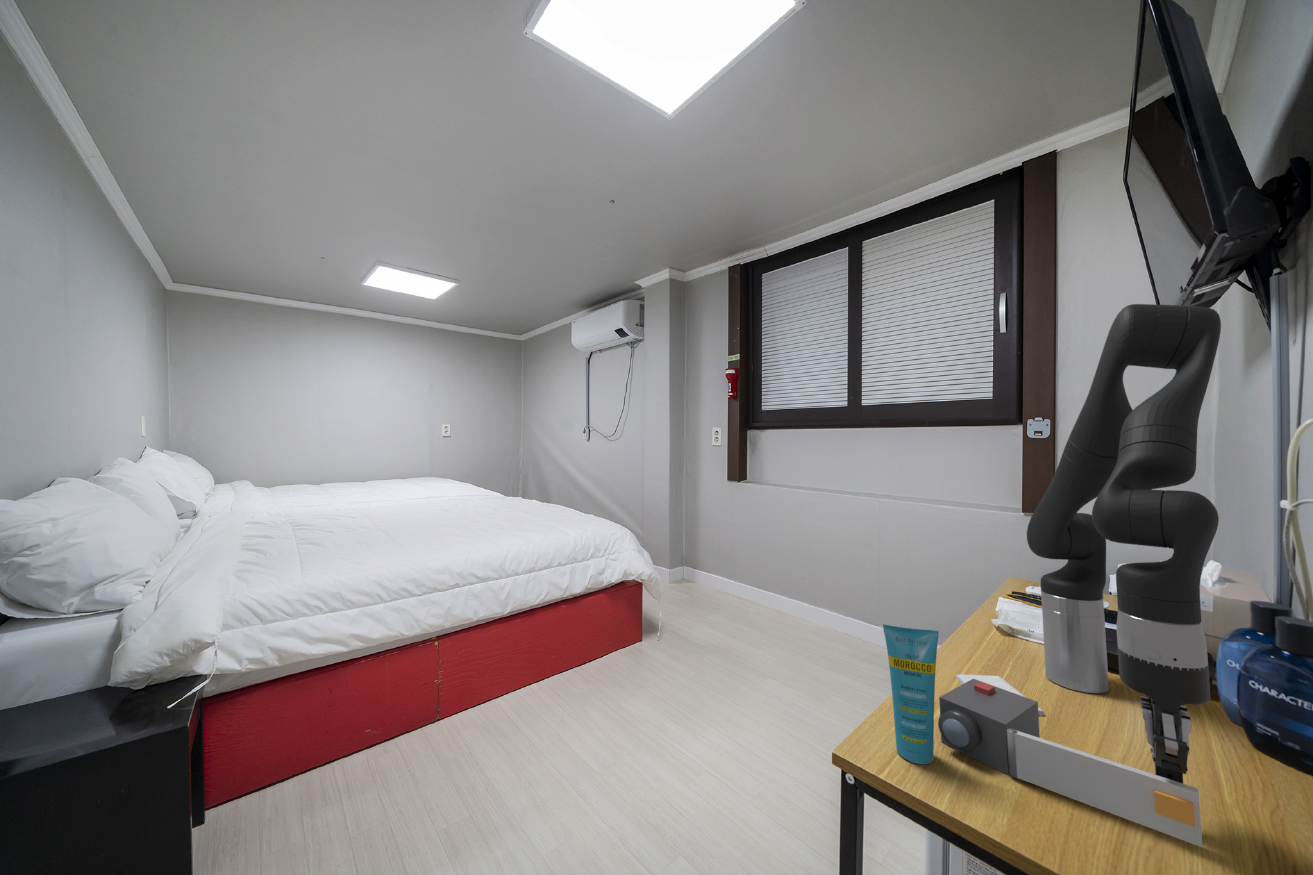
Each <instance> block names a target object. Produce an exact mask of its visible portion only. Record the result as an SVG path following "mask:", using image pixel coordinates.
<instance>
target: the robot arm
mask: <svg viewBox="0 0 1313 875" xmlns="http://www.w3.org/2000/svg"><path fill="white" fill-rule="evenodd" d="M1221 321H1222V320H1221V317H1220V314H1219V313H1218V311H1217V310H1215V309H1214V308H1211V307H1205V306H1197V305H1195V306H1193V305H1178V304H1177V305H1176V304H1175V305H1174V304H1173V305H1172V304H1147V303H1144V304H1143V303H1135V304H1134V303H1132V304H1129V305H1126V306H1124V307H1123V308H1122V309H1121V310H1120V311H1119V312H1118V314H1117V315H1116V316H1115V318H1114V320H1113V322H1112V324H1111V326H1110V329H1109V330H1108V333H1107V334H1108V335H1107V336H1106V339H1105V342H1104V345H1103V347H1102V351H1101V355H1100V358H1099V361H1098V364H1097V367H1096V370H1095V373H1094V376H1093V379H1092V382H1091V385H1090V388H1089V391H1088V394H1087V397H1086V398H1085V400H1084V403H1083V406H1082V408H1081V410H1080V412H1079V414H1078V417H1077V418H1076V421H1075V423H1074V425H1073V428H1072V429H1071V432H1070V434H1069V437H1068V439H1067V441H1066V443H1065V446H1064V448H1063V452H1062V454H1061V458H1060V459H1059V463H1058V465H1057V468H1056V470H1055V472H1054V474H1053V477H1052V478H1051V481H1050V483H1049V485H1048V487H1047V489H1046V491H1045V493H1044V494H1043V496H1042V498H1041V500H1040V501H1039V503H1038V505H1037V506H1036V508H1035V510H1034V512H1033V513H1032V514H1031V517H1030V518H1029V522H1028V524H1027V530H1026V541H1027V545H1028V547H1029V549H1030V551H1031V552H1032V553H1033V554H1034V555H1036V556H1037V557H1040V558H1045V559H1050V560H1064V561H1065V560H1067V562H1066V563H1065V565H1063V566H1062V567H1061V568H1059V569H1057V570H1055V571H1052V572H1048V573H1045V574H1044V575H1042V576H1041V578H1040V594H1041V595H1040V597H1041V598H1040V599H1041V612H1042V616H1041V617H1042V630H1043V633H1042V634H1043V650H1044V652H1043V653H1044V667H1045V668H1044V669H1045V677H1046V678H1047V679H1048V680H1049V681H1050V682H1053V683H1054V684H1057V685H1059V686H1061V687H1064V688H1066V689H1070V690H1073V691H1077V692H1082V693H1088V694H1104V693H1107V692H1108V691H1109V688H1110V687H1109V672H1108V655H1107V654H1108V652H1107V637H1106V623H1105V622H1106V621H1105V620H1106V619H1105V618H1106V617H1105V608H1104V606H1105V605H1104V590H1105V586H1106V583H1107V540H1108V541H1109V542H1113V543H1118V544H1125V545H1138V546H1144V547H1145V546H1146V547H1155V548H1165V549H1170V550H1173V553H1172V556H1171V557H1170V558H1169V559H1166V560H1163V561H1155V562H1153V561H1152V562H1146V561H1145V562H1130V563H1129V562H1128V563H1124V564H1121V565H1120V566H1118V567H1117V569H1116V572H1115V583H1116V598H1117V599H1116V600H1117V601H1116V602H1117V617H1116V618H1117V619H1116V640H1117V656H1118V659H1117V660H1118V674H1119V675H1118V676H1119V679H1120V680H1121V682H1122V683H1123V684H1124V685H1126V686H1127V687H1128V688H1129V689H1132V690H1133V691H1135V692H1137V693H1140V694H1142V695H1143V694H1144V695H1145V696H1142V695H1140V696H1139V699H1140V700H1139V701H1140V709H1141V713H1142V714H1141V715H1142V719H1143V721H1144V730H1145V734H1146V741H1147V744H1149V745H1150V746H1151V747H1150V753H1152V754H1151V759H1152V760H1153V762H1154V772H1155V774H1154V775H1158V776H1161V777H1164V778H1167V779H1170V780H1173V781H1176V782H1179V783H1183V784H1184V775H1187V772H1188V757H1189V755H1190V739H1189V738H1190V737H1189V736H1190V734H1191V733H1192V721H1191V720H1192V719H1191V716H1190V715H1189V714H1188V713H1189V712H1188V708H1187V706H1185V705H1191V706H1201V705H1205V704H1207V703H1209V702H1210V700H1211V686H1210V672H1209V662H1208V661H1209V659H1208V657H1209V656H1208V645H1207V638H1206V634H1205V632H1204V628H1203V622H1202V608H1201V607H1202V606H1201V577H1202V572H1203V568H1204V565H1205V561H1206V557H1207V555H1208V553H1209V551H1210V549H1211V546H1212V544H1213V541H1214V539H1215V536H1216V533H1217V530H1218V526H1219V522H1220V521H1219V520H1220V519H1219V518H1220V517H1219V513H1218V510H1217V507H1216V506H1215V505H1214V504H1213V503H1212V501H1210V499H1208V498H1207V497H1206V496H1204V495H1203V494H1201V493H1198V492H1197V491H1196V492H1195V491H1191V490H1190V491H1189V490H1174V489H1173V490H1171V489H1170V490H1169V489H1166V490H1165V489H1163V488H1170V487H1176V486H1180V485H1183V484H1186V483H1187V482H1189V481H1191V480H1192V479H1193V477H1194V475H1195V474H1196V470H1197V449H1198V446H1197V445H1198V427H1199V426H1198V425H1199V420H1200V419H1199V418H1200V413H1201V410H1202V406H1203V403H1204V400H1205V396H1206V393H1207V389H1208V386H1209V383H1210V378H1211V374H1212V371H1213V367H1214V362H1215V360H1216V359H1215V358H1216V356H1217V351H1218V347H1219V342H1220V338H1221V329H1222V322H1221ZM1129 366H1132V367H1133V366H1134V367H1144V368H1152V369H1163V370H1164V369H1165V370H1174V371H1175V374H1174V376H1173V377H1172V379H1171V380H1170V381H1169V382H1167V384H1166V385H1164V386H1163V387H1162V388H1160V389H1159V390H1158V391H1156V392H1155V393H1153V394H1152V395H1151V396H1149V397H1147V398H1146V399H1144V401H1142V402H1141V403H1139V404H1138V405H1137V406H1136V407H1134V408H1133V407H1132V406H1131V403H1130V401H1129V399H1128V395H1127V393H1126V392H1127V391H1126V389H1125V384H1124V373H1125V370H1126V369H1127V367H1129ZM1094 499H1095V501H1094V503H1093V507H1092V510H1091V514H1090V513H1085V512H1079V511H1080V510H1081V509H1082V508H1084V506H1086V505H1087V504H1089V503H1090V502H1091V501H1093V500H1094Z"/></svg>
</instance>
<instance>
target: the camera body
mask: <svg viewBox="0 0 1313 875" xmlns="http://www.w3.org/2000/svg"><path fill="white" fill-rule="evenodd" d="M938 700H939V718H938V721H937V726H938V730H939V733H940V737H941V738H940V739H941V743H942V744H944V745H947V746H948V747H949V748H952V749H954V750H956V751H958V752H961V753H963V754H964V755H967V756H969V757H971V758H972V759H975V760H977V761H979V762H980V763H983V764H985V765H986V766H989V767H991V768H993V769H995V770H996V771H999V772H1001V773H1003V774H1005V775H1007V776H1009V775H1010V774H1009V758H1008V739H1007V729H1008V728H1011V729H1014V730H1016V731H1020V732H1023V733H1026V734H1029V735H1032V736H1035V737H1038V738H1041V737H1040V736H1041V735H1040V734H1041V733H1040V721H1039V720H1040V718H1039V717H1040V716H1039V715H1038V707H1039V702H1038V701H1036V700H1034V699H1031V698H1029V697H1026V696H1025V697H1023V696H1020V695H1018V694H1015V693H1012V692H1009V691H1007V690H1004V689H1001V688H998V687H995V686H993V685H990V684H987V683H984V682H982V681H979V680H976V679H971V680H970V681H968V682H966V683H964V684H961V685H958V686H957V687H955V688H954V689H952V690H950V691H948V692H946V693H944V694H942V695H940V696H939V699H938Z"/></svg>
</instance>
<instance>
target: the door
mask: <svg viewBox="0 0 1313 875" xmlns="http://www.w3.org/2000/svg"><path fill="white" fill-rule="evenodd" d="M1007 739H1008V758H1009V775H1010V776H1011V777H1013V778H1016V779H1019V780H1022V781H1025V782H1027V783H1030V784H1034V785H1036V786H1039V787H1041V788H1044V789H1046V790H1048V791H1051V792H1055V793H1057V794H1059V795H1062V796H1065V797H1068V798H1070V799H1073V800H1076V801H1078V802H1081V803H1084V804H1086V805H1088V806H1091V807H1093V808H1096V809H1100V810H1102V811H1105V812H1107V813H1110V814H1112V815H1116V816H1118V817H1121V818H1123V819H1126V820H1129V821H1132V822H1134V823H1137V824H1140V825H1142V826H1145V827H1147V828H1150V829H1152V830H1154V831H1158V832H1161V833H1163V834H1166V835H1168V836H1172V837H1174V838H1177V839H1179V840H1182V841H1183V842H1187V843H1190V844H1191V845H1195V846H1198V847H1201V848H1203V837H1202V821H1201V820H1202V819H1201V808H1200V807H1201V806H1200V793H1199V789H1198V787H1195V786H1192V785H1189V784H1186V783H1184V782H1183V783H1179V782H1176V781H1173V780H1170V779H1167V778H1164V777H1161V776H1158V775H1155V774H1154V773H1151V772H1147V771H1144V770H1141V769H1137V768H1136V767H1132V766H1129V765H1125V764H1123V763H1119V762H1116V761H1112V760H1111V759H1106V758H1103V757H1101V756H1097V755H1095V754H1091V753H1088V752H1086V751H1082V750H1080V749H1079V750H1078V749H1075V748H1074V747H1073V748H1072V747H1069V746H1066V745H1063V744H1060V743H1057V742H1054V741H1050V740H1047V739H1044V738H1042V737H1040V738H1038V737H1035V736H1032V735H1029V734H1026V733H1023V732H1020V731H1016V730H1014V729H1011V728H1008V729H1007Z"/></svg>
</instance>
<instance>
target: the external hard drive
mask: <svg viewBox="0 0 1313 875" xmlns="http://www.w3.org/2000/svg"><path fill="white" fill-rule="evenodd" d="M956 678H957V679H958V680H959V681H960V682H959V684H961V683H962V684H964V683H966V682H968V681H970V680H971V679H976V680H979V681H982V682H984V683H987V684H990V685H993V686H995V687H998V688H1001V689H1004V690H1007V691H1009V692H1012V693H1015V694H1018V695H1020V696H1023V697H1026V696H1025V695H1023V694H1022V693H1021V692H1020V691H1019V690H1018V689H1016V688H1015V687H1013V686H1012V685H1011V684H1010V683H1008V682H1007V681H1006V680H1004V679H1003V678H1002V677H1001V676H999V675H984V674H983V675H982V674H963V673H962V674H961V673H959V674H956ZM962 684H961V685H962ZM1038 715H1039V717H1040V716H1042V717H1045V710H1043V709H1042V708H1040V707H1039V706H1038Z"/></svg>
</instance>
